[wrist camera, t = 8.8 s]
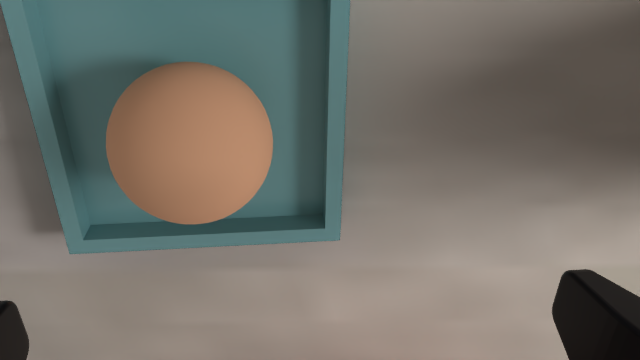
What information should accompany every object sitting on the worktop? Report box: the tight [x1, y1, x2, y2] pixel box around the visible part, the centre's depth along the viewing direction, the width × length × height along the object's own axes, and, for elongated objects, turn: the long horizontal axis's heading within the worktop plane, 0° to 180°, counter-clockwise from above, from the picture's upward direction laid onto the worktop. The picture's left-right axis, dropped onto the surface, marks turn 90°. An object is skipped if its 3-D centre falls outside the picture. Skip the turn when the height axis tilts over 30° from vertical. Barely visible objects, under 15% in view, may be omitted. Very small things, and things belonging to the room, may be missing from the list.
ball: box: [106, 62, 273, 224], centre depth 16 cm, size 5×5×5 cm
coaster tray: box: [0, 0, 350, 254], centre depth 18 cm, size 10×10×2 cm
